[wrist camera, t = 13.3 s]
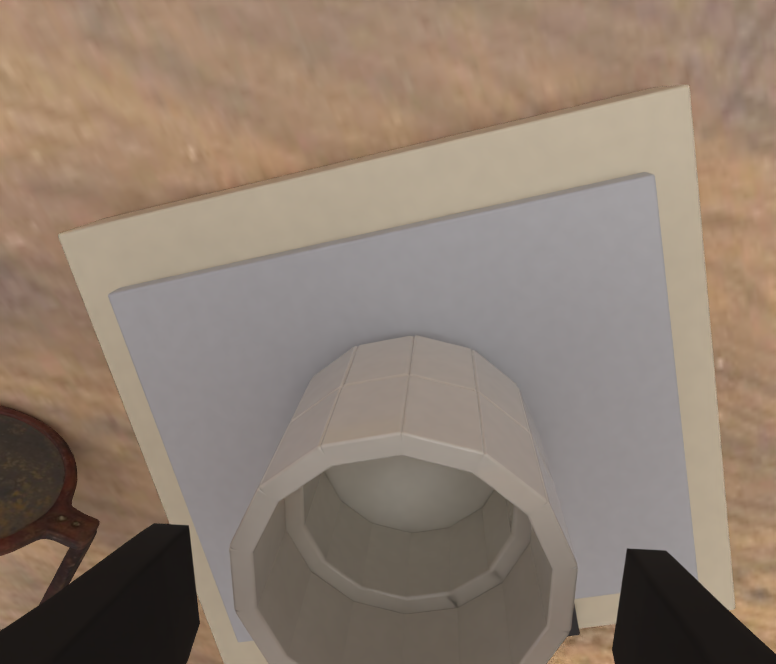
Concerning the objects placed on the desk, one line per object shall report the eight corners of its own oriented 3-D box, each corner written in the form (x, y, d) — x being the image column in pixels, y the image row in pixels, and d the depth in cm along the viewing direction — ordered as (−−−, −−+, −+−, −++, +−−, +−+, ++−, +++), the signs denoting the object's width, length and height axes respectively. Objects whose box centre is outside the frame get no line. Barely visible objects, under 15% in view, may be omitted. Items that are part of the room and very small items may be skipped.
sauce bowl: (299, 539, 17) (242, 711, 12) (289, 322, 15) (217, 425, 10) (525, 551, 16) (559, 735, 11) (544, 330, 14) (593, 440, 10)
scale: (247, 617, 21) (219, 690, 18) (102, 218, 17) (40, 239, 15) (704, 555, 19) (746, 628, 16) (656, 86, 15) (701, 82, 12)
